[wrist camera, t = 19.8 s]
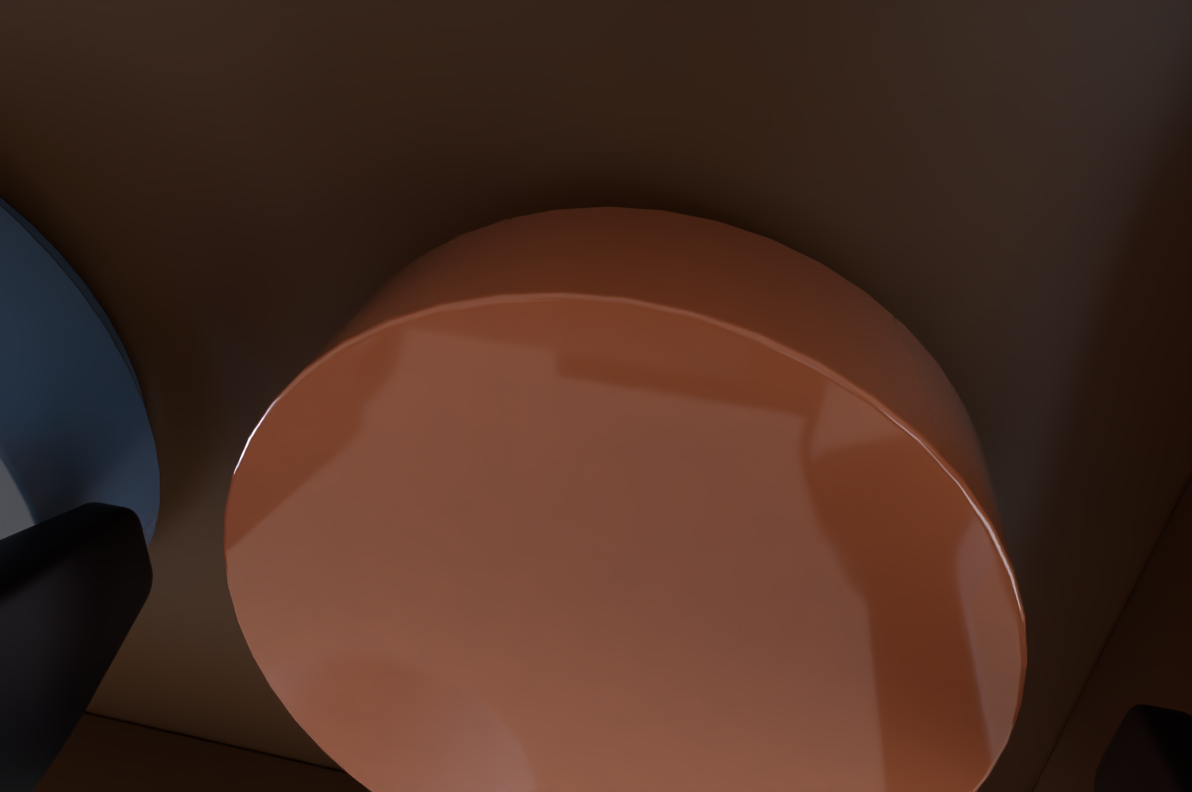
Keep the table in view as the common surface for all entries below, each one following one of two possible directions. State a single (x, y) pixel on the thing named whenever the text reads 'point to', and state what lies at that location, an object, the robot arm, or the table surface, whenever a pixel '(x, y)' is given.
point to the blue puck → (65, 393)
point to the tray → (643, 181)
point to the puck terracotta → (628, 527)
